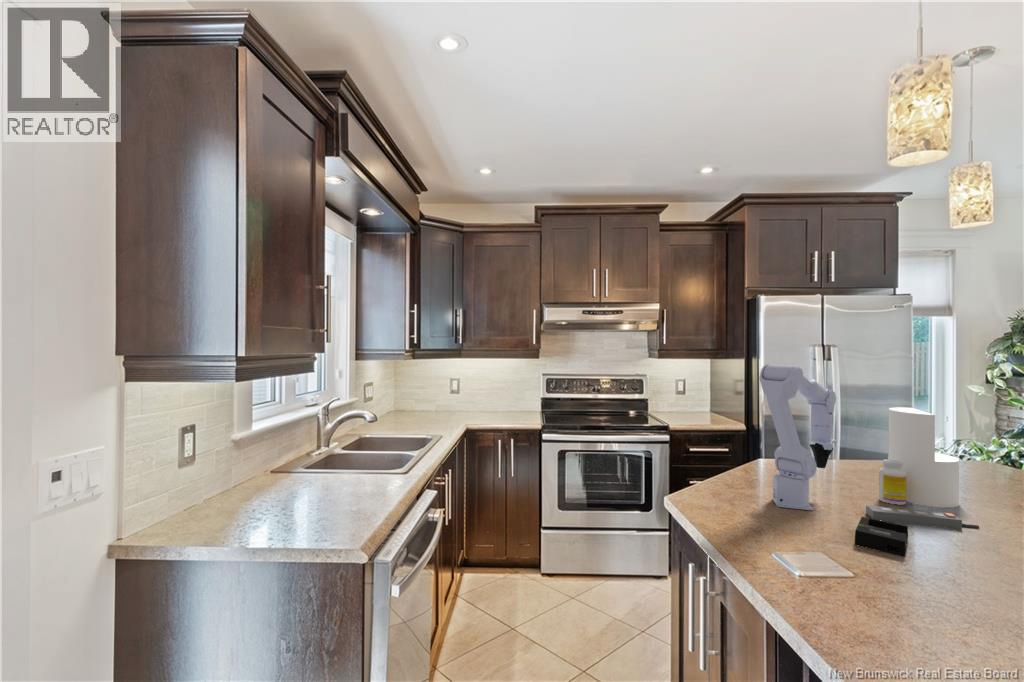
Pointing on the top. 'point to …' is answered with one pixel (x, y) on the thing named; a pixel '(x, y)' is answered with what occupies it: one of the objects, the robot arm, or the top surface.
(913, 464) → the white stepped block
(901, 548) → the battery charger
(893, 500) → the supplement bottle
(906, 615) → the top surface
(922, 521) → the power strip
